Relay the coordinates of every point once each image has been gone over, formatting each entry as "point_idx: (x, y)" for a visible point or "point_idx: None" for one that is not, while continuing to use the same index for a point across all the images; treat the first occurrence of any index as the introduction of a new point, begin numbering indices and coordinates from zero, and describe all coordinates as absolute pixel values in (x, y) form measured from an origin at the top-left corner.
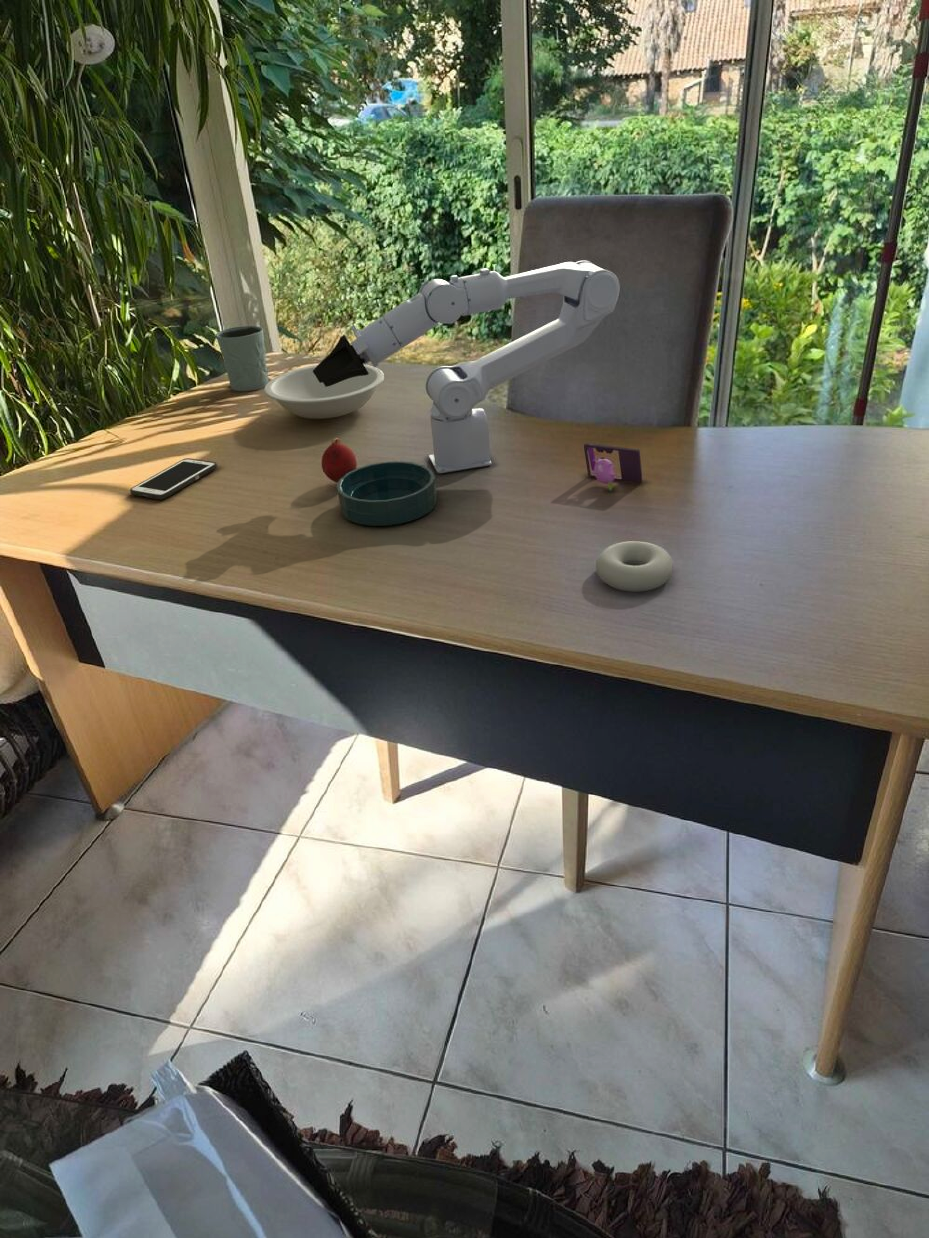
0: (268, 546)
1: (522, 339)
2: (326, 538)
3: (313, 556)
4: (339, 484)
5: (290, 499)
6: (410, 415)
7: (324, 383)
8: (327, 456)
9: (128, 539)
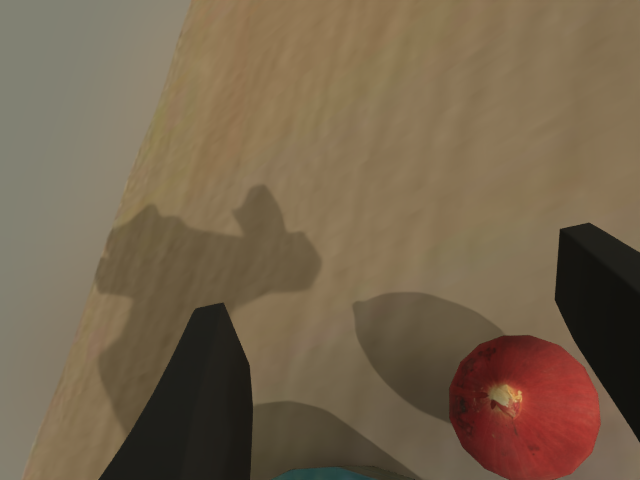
0: None
1: None
2: None
3: None
4: (297, 478)
5: (410, 279)
6: None
7: (558, 286)
8: (460, 374)
9: (233, 43)
